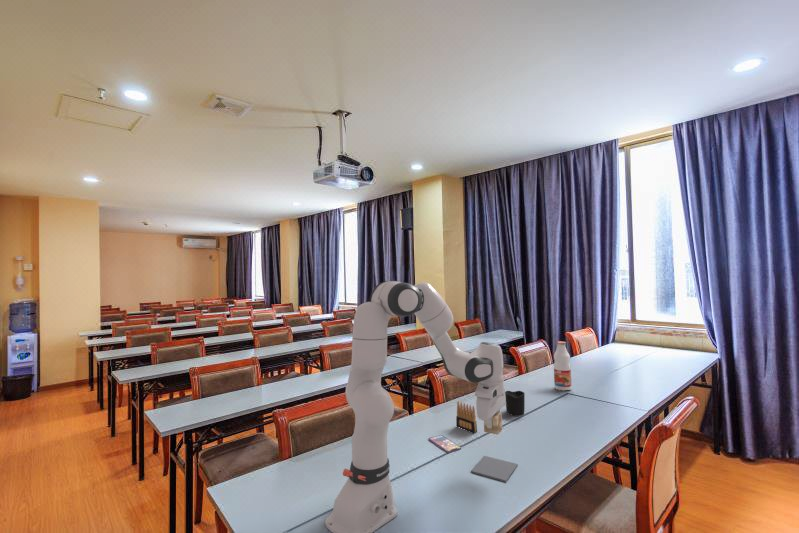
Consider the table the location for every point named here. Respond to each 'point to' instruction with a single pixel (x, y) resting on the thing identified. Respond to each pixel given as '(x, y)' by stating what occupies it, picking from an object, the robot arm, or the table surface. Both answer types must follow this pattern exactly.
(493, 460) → the mat
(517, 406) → the pen holder
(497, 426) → the maple block
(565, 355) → the fruit juice
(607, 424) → the table surface
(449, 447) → the smartphone
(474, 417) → the ammunition clip
